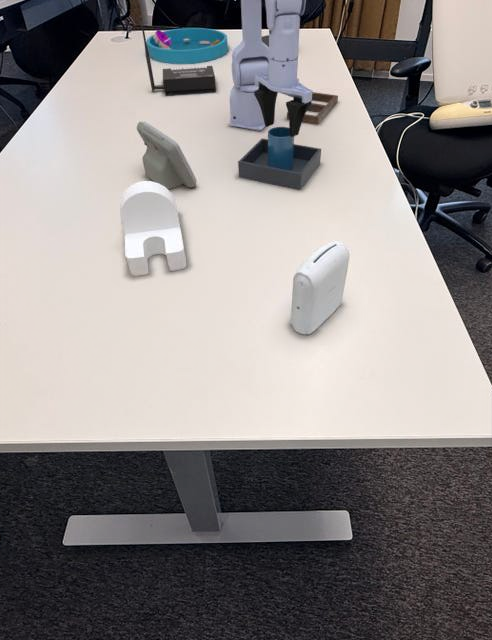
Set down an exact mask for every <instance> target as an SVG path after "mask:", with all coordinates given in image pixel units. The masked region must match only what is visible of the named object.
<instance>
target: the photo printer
mask: <svg viewBox="0 0 492 640" xmlns="http://www.w3.org/2000/svg"><path fill="white" fill-rule="evenodd" d="M350 255H351V254H350V251H349V249H348V246H347V245H346V244H345V243H343V242H340V241H339V240H334V241H329V242H328V243H326V244H323V245H322V246H320V247H319V248H317V249H316V250H314V251H313V252H312V253H311V254H310V255H309V256H308V257H307V258H305V260H304V261H303V262H302V263H301V264H300V265H299V267H298V268H297V270H296V271H295V273H294V275H293V278H292V293H291V310H290V311H291V313H290V324H291V326H292V328H293V331H295V332H297V333H298V334H301V335H304V336H305V335H310V334H312V333H314V332H315V331H316V330H317V329H318V328H319V327H320V326H322V325H323V324H324V322H326V321H327V320H328V319H329V318H330V317H331V316H332V315H333V314H334V313H335V311H337V309H338V308H339V307H340V306H341V304H342V301H343V296H344V292H345V285H346V280H347V274H348V269H349V262H350Z"/></svg>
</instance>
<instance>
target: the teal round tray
mask: <svg viewBox="0 0 492 640" xmlns="http://www.w3.org/2000/svg"><path fill="white" fill-rule="evenodd" d="M146 43H147V48H148V52H149V56H150V59H153V60H154V61H157V62H161V63H167V64H177V65H178V64H179V65H182V64H183V65H185V64H187V65H188V64H198V63H205V62H209V61H214V60H217V59H220V58H222V57H224V56H225V55H226V54H227V53H228V51H229V46H228V45H229V44H228V35H227V34H226V33H225V32H223V31H220V30H217V29H214V28H205V27H204V28H203V27H183V28H174V29H168V30H164V31H162V30H159V29H157V30H156V31H155V33H154V34H151V35H150V36H149V37H148V38H146Z"/></svg>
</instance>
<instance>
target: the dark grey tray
mask: <svg viewBox="0 0 492 640" xmlns="http://www.w3.org/2000/svg"><path fill="white" fill-rule="evenodd" d="M321 158H322V148H318V147H313V146H308V145H303V144H302V145H301V144H297V143H294V153H293V169H292V170H291V171H289V170H284V169H279V168H274V167H269V166H268V138H261V139H260V140H259V141H257V142H256V144H254V145H253V146H252V147H251V148H250V149H249V151H247V152H246V153H245V154H244V155H243V156H242V157H241V158H240V159H239V160H238V161H237V165H238V166H237V167H238V178H240V179H241V178H242V179H246V180H251V181H255V182H261V183H265V184H271V185H275V186H279V187H284V188H289V189H294V190H299V191H301V190H302V189H303V188H304V186H305V185H306V183H307V182H308V181H309V180H310V178H311V177H312V175H313V174H314V173H315V172H316V171H317V169H318V168H319V166H320V165H321Z"/></svg>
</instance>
